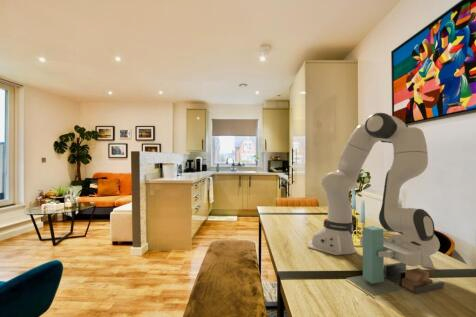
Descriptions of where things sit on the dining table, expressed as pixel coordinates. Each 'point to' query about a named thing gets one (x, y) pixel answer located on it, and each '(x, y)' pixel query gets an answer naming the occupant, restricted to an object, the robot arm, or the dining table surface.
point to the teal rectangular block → (373, 254)
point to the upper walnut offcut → (417, 275)
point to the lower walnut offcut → (411, 284)
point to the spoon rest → (428, 262)
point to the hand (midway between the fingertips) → (371, 251)
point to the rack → (398, 272)
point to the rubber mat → (373, 286)
